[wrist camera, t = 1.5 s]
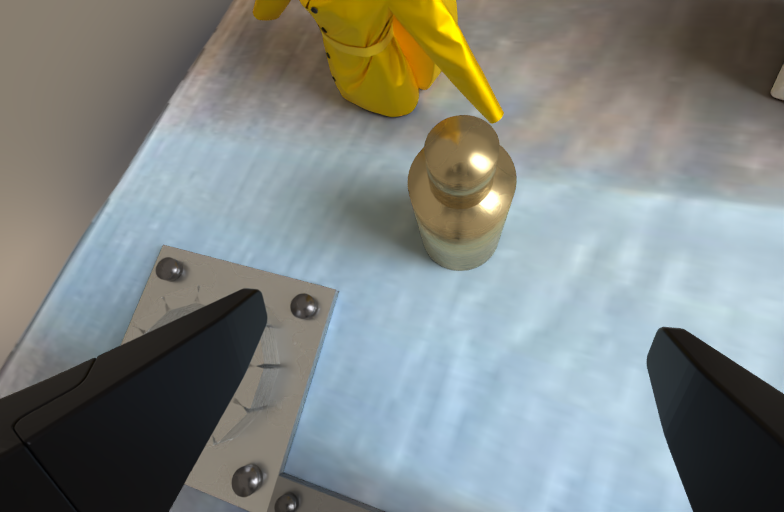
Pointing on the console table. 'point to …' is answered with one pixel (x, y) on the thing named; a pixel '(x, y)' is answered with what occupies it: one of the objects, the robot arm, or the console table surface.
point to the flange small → (310, 498)
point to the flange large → (263, 377)
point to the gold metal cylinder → (461, 192)
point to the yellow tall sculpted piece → (394, 51)
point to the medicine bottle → (779, 85)
